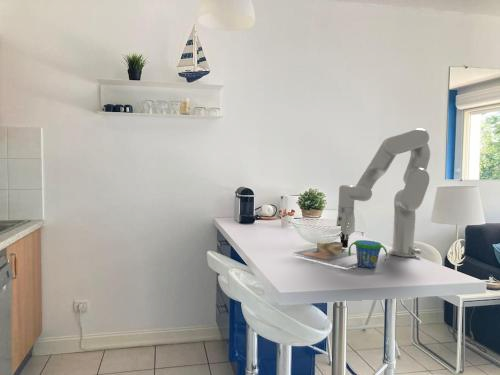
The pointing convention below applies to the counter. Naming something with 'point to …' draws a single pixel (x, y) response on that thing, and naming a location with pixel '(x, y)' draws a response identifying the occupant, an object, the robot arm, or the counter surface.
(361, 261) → the snack cup
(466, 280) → the counter surface
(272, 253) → the counter surface
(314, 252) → the board
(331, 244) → the t block
